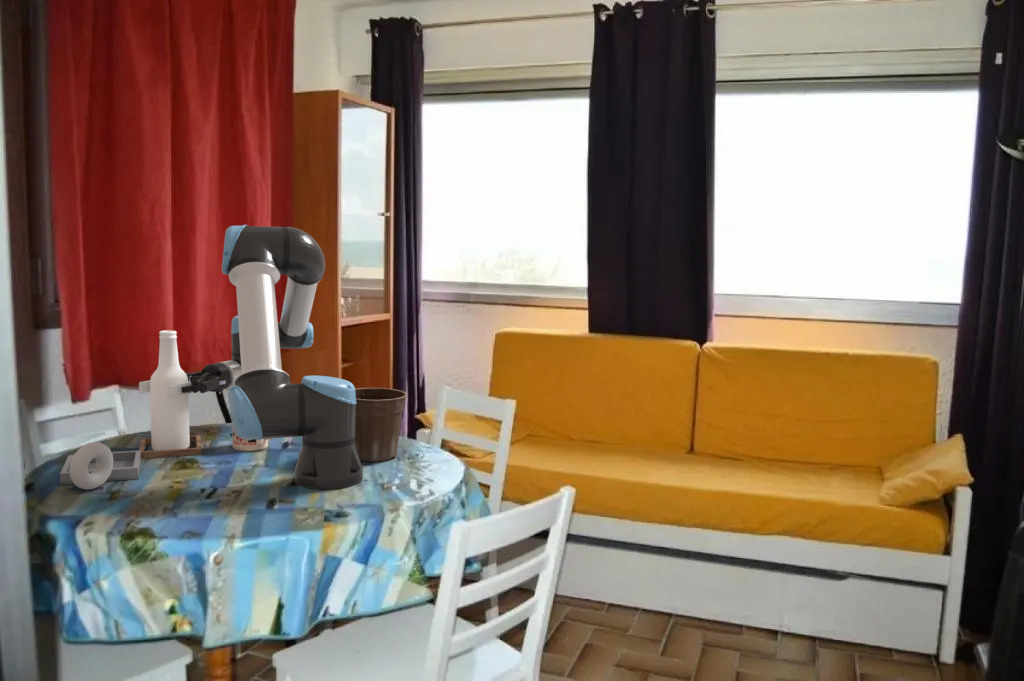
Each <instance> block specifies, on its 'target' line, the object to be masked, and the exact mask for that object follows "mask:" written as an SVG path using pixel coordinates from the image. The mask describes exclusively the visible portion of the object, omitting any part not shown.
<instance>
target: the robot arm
mask: <svg viewBox="0 0 1024 681" xmlns="http://www.w3.org/2000/svg"><path fill="white" fill-rule="evenodd" d="M223 242H224V244H223V252H222V253H223V255H222V264H221V273H222V274H223V275H226V276H228V279H229V282H230V283H231V284H232V285H233V286H235V287H236V290H235V291H236V303H237V305H236V306H237V315H235V316H234V317H232V319H231V328H230V329H231V330H230V334H231V360H225V361H220V362H215V363H210V364H207V365H205V366H204V367H203V368H202V370H201V371H195V372H192V373H190V372H187V371H184V372H185V373H186V375H187V378H188V382H186V383H182V384H177V385H172V386H168V387H169V397H175V396H180V395H184V394H189V395H190V394H192V393H194V394H196V393H198V392H199V393H200V394H205V393H207V392H212V393H216V392H220V391H224V390H227V392H228V403H229V412H230V418H231V423H232V424H233V427H234V430H235V433H236V435H237V436H238V437H239V438H241V439H257V440H261V439H269V438H273V439H279V438H281V439H282V438H294V437H302V438H301V439H302V440H301V441H302V443H301V444H302V445H301V450H300V454H299V455H298V459H297V462H296V465H295V468H294V471H293V472H294V473H293V474H294V476H293V477H294V478H293V480H294V482H295V484H296V485H298V486H300V487H304V488H309V489H316V490H330V489H332V490H333V489H341V488H342V489H343V488H346V487H351V486H353V485H358V483H360V482H361V481H362V480H363V478H364V475H363V474H364V471H363V470H364V469H363V468H364V467H363V465H362V461H361V460H360V458H359V455H358V452H357V449H356V446H355V413H356V396H355V389H356V387H355V385H354V384H353V383H352V382H351V381H349V380H346V379H344V378H343V379H342V378H340V377H333V376H328V375H327V376H326V375H305V376H303V377H302V379H301V382H300V383H291V378H290V375H289V374H288V373H287V372H286V371H285V370H283V368H282V357H281V349H299V350H300V349H307V348H310V347H312V346H313V344H314V327H313V324H312V323H311V322H310V318H311V313H312V309H313V304H314V301H315V296H316V291H317V289H318V288H317V287H318V283H320V281H321V280H323V277H324V275H325V270H326V260H325V258H326V257H325V255H324V252H323V250H322V248H321V246H320V245H319V243H318V242H317V241H316V240H315V239H314V237H312V236H311V235H310V234H309V233H307V232H305V231H304V230H302V229H300V228H297V227H293V226H265V225H264V226H260V225H259V226H258V225H257V226H256V225H254V226H253V225H247V224H243V225H230V226H229V227H227V229H226V230H225V235H224V241H223ZM281 275H283V276H287V281H286V287H285V292H284V293H285V294H284V297H283V298H284V299H283V305H282V310H281V316H280V321H279V322H278V310H277V301H276V300H277V299H276V289H275V285H276V284H277V283H278V282H279V280H280V279H281ZM150 380H151V379H149V380H144V381H139V382H138V389H139V394H145V393H150ZM233 427H232V428H233Z"/></svg>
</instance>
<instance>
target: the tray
mask: <svg viewBox="0 0 1024 681" xmlns="http://www.w3.org/2000/svg"><path fill="white" fill-rule="evenodd" d="M111 453H112V455H113V468H112V471H111V474H110V476H109V477H108V479H107V480H106V481H105V482H115V481H117V482H118V481H128V480H139V478H140V477H139V476H140V471H141V470H140V469H141V465H142V464H141V463H142V459H141V450H126V451H124V450H123V451H111ZM73 456H74V454H69V455H68V456H67V458H66V460H65V462H64V465H63V466H62V469H61V471H60V473H59V481H60V486H65V485H75V484H74V483H73V481H72V479H71V478H70V472H69V470H70V463H71V460H72V458H73ZM95 466H96V460H95V458H93V459H92V460H91V461H90V462H89V465H88V472H89V474H90V473H92V472H93V470H94V469H95Z"/></svg>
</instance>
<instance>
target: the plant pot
mask: <svg viewBox="0 0 1024 681" xmlns="http://www.w3.org/2000/svg"><path fill="white" fill-rule="evenodd" d="M355 396H356V413H355V446H356V449H357V452H358V455H359V458H360V461H361V462H370V463H376V462H377V463H379V462H384V461H385V462H386V461H390V460H391V459H395V458H396V457H397V455H398V448H399V439H400V432H401V429H400V428H401V422H402V415H403V411H404V409H405V402H406V398H407V397H408V393H407V392H405V391H403V390H400V389H399V390H398V389H394V388H386V387H359V388H358V387H357V388H355Z"/></svg>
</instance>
